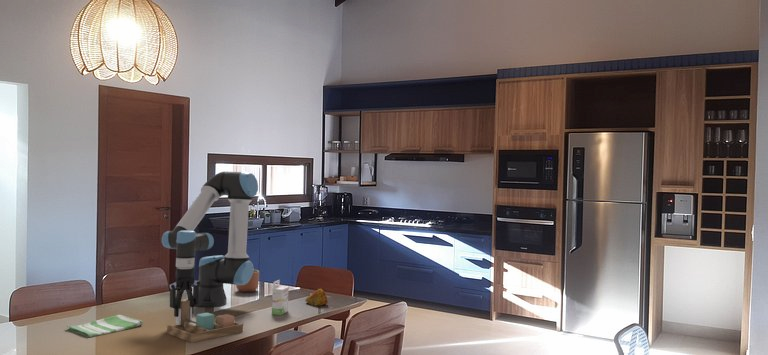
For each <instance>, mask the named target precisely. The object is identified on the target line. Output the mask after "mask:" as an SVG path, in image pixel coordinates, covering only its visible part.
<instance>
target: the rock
mask: <svg viewBox="0 0 768 355" xmlns="http://www.w3.org/2000/svg"><path fill="white" fill-rule="evenodd" d="M304 301H305V302H306V303H308V304H309V305H311V306H315V307H319V306H320V307H321V306H323V305H327V304H328V296H327V295H326V292H325V291H324V290H323V289H322V288H318V289H317V290H316V291H314V292H312V293H311V294H310V295H309V296H307V297H306V298H305V300H304Z"/></svg>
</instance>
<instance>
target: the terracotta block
mask: <svg viewBox="0 0 768 355" xmlns="http://www.w3.org/2000/svg"><path fill="white" fill-rule="evenodd" d="M216 316H217V324H218V325H221V326H224V327H228V326H233V325H234V322H235V316H234V315H233V314H232V315H231V314H229V313H225V314H219V315H216Z"/></svg>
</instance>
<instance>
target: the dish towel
mask: <svg viewBox="0 0 768 355" xmlns="http://www.w3.org/2000/svg"><path fill="white" fill-rule="evenodd" d="M143 323H144V321H143V320H141V319H137V318H132V317H128V316H125V315H123V314H115V315H112V316H107V317H104V318H101V319H97V320H94V321H93V320H92V321H90V322H87V323H83V324H79V325H78V324H77V325H71V324H70V325H66V327H67V331H69V332H73V333H76V334H79V335H82V336H84V337H86V338H87V339H88V338H94V337H99V336H103V335H107V334H108V335H109V334H113V333H117V332H122V331H126V330H131V329H134V328H137V327H140V326H142V324H143Z"/></svg>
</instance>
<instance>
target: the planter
mask: <svg viewBox="0 0 768 355" xmlns="http://www.w3.org/2000/svg"><path fill="white" fill-rule="evenodd" d="M259 281H260V270H258V269H254V270H253V275H252V277H251V279H250V280H249V282H248V283H247V284H245V285H235V288H236V289H237V291H239V292H241V293H253V292H255V291H256V290H258V288H259V285H260V284H259V283H260V282H259Z"/></svg>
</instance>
